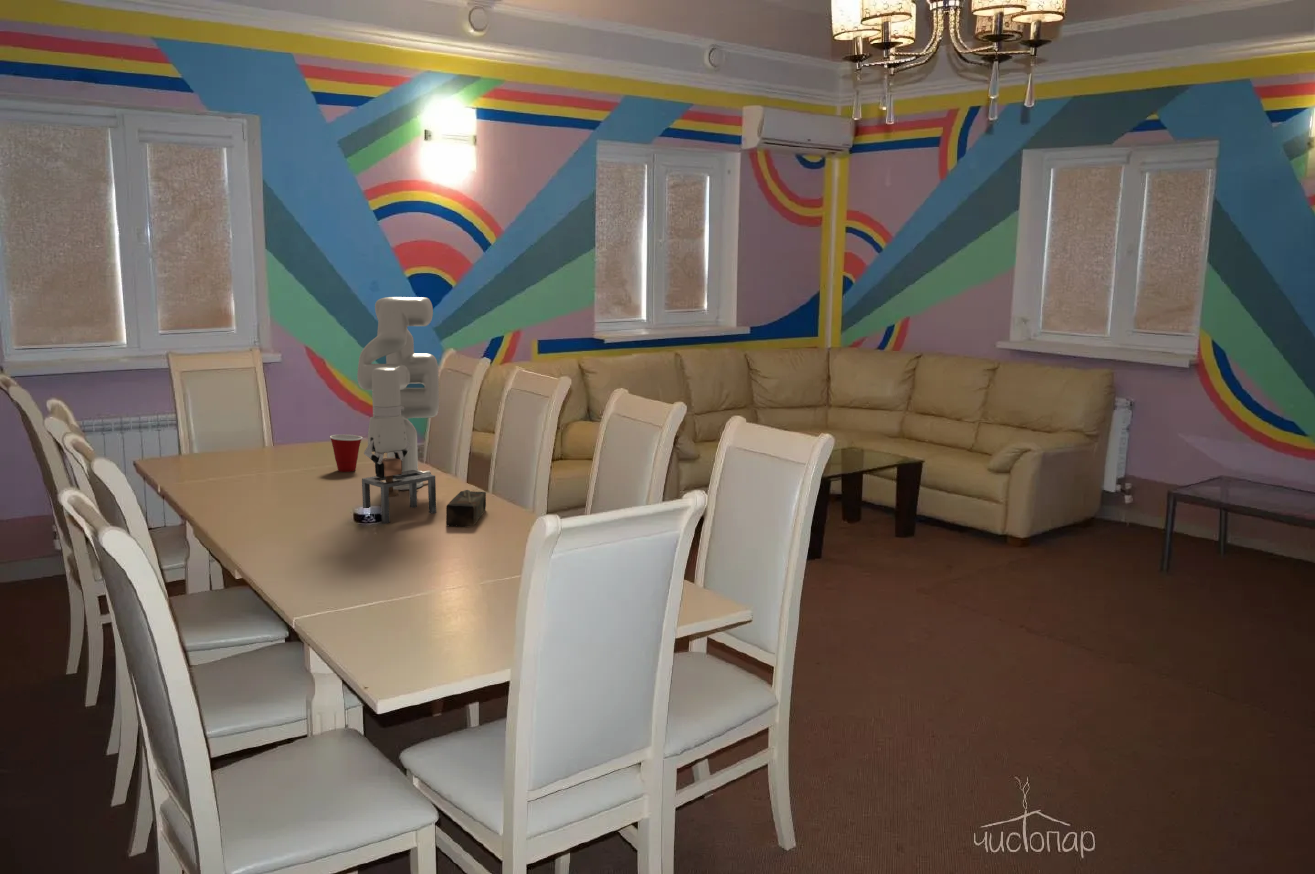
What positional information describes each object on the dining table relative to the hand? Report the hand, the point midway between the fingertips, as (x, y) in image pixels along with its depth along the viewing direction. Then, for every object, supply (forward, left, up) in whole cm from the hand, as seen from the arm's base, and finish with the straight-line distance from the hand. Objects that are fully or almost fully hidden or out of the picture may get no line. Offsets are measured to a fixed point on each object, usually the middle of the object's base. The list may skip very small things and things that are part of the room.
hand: (389, 474), depth 285 cm
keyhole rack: (-3, 0, -12) cm, 13 cm away
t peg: (0, 0, -6) cm, 6 cm away
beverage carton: (-14, +16, -13) cm, 25 cm away
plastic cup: (-24, -63, -12) cm, 69 cm away
